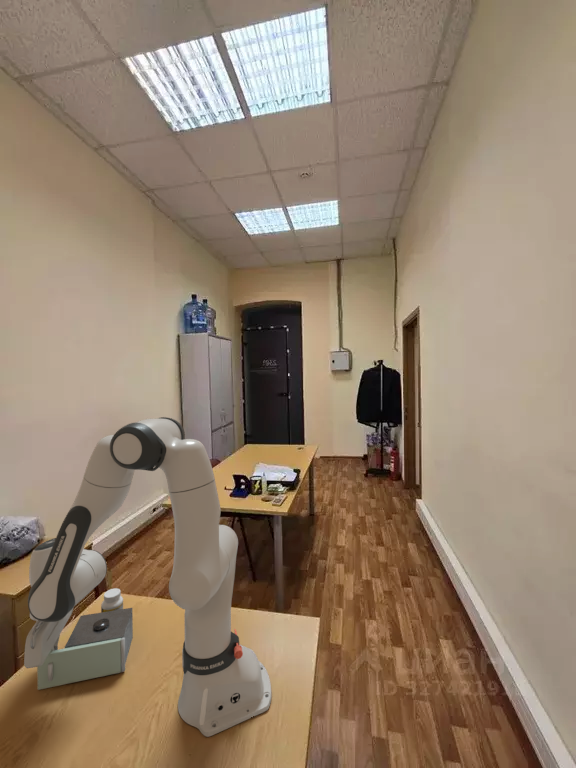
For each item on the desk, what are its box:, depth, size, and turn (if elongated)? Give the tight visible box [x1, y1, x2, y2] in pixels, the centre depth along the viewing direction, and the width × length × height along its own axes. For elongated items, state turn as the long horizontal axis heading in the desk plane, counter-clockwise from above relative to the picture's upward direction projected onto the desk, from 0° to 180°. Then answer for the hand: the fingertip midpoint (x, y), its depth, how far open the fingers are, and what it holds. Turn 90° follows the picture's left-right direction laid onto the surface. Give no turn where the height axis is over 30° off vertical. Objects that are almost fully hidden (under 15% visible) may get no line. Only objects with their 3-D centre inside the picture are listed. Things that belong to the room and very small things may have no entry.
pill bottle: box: [100, 587, 124, 613], centre depth 107 cm, size 6×6×11 cm
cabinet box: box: [64, 607, 134, 665], centre depth 95 cm, size 14×12×10 cm
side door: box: [36, 637, 126, 690], centre depth 87 cm, size 20×2×8 cm, turn 105°
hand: (51, 655), depth 88 cm, fingers closed
